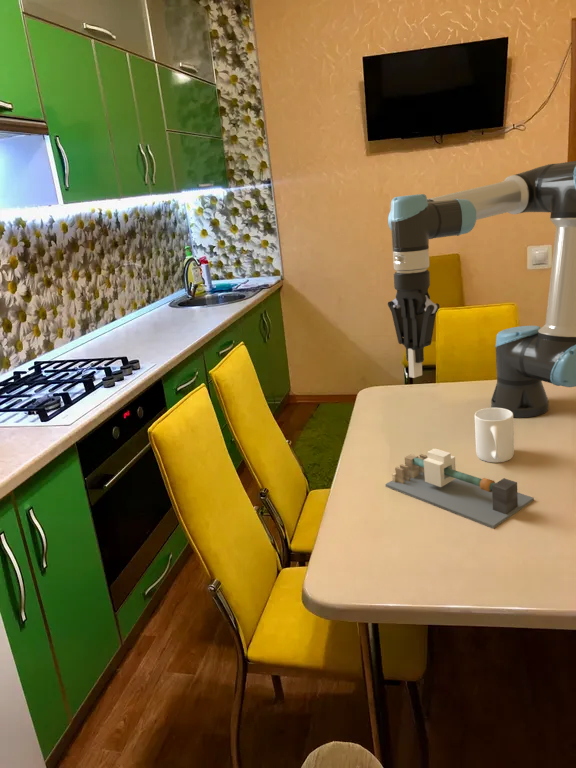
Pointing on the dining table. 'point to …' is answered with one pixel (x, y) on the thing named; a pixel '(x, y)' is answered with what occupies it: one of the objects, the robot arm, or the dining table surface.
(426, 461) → the sleeve
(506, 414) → the mug
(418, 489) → the mat
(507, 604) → the dining table surface
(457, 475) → the comb rail
